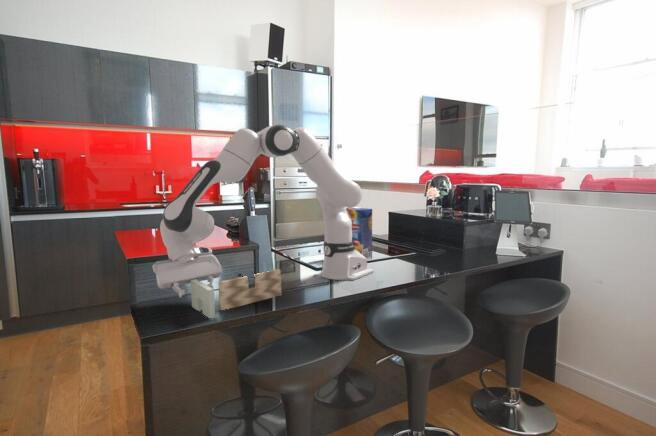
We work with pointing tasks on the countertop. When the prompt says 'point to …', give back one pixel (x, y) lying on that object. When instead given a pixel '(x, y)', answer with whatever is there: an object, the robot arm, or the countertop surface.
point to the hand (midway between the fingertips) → (197, 293)
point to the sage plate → (202, 298)
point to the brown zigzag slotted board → (249, 289)
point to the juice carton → (362, 229)
